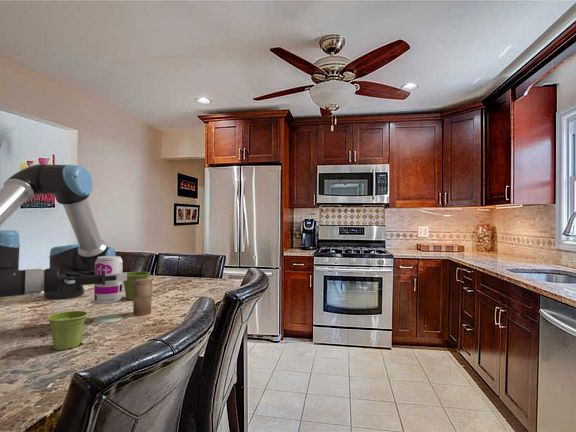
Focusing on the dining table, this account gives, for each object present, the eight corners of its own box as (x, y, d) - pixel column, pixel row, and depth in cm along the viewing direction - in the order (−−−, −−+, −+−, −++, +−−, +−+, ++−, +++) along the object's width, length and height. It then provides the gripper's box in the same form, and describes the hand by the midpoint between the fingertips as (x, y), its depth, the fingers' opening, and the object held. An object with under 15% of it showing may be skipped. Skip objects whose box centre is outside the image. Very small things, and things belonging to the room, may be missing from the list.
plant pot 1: (59, 340, 95) (60, 310, 95) (93, 339, 95) (94, 310, 96) (38, 353, 85) (38, 320, 85) (75, 352, 86) (76, 319, 86)
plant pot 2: (142, 302, 139) (143, 275, 140) (115, 301, 140) (115, 275, 140) (154, 295, 151) (154, 271, 151) (129, 295, 152) (129, 271, 152)
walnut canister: (131, 312, 119) (132, 279, 119) (148, 310, 122) (149, 278, 123) (135, 316, 114) (136, 282, 114) (153, 314, 118) (153, 280, 118)
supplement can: (109, 304, 107) (111, 258, 107) (88, 302, 108) (89, 257, 109) (126, 298, 114) (127, 256, 115) (106, 297, 116) (107, 255, 116)
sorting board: (89, 318, 115) (89, 315, 115) (149, 310, 127) (149, 306, 127) (96, 331, 102) (96, 327, 102) (161, 320, 115) (161, 316, 115)
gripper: (42, 287, 109) (117, 281, 123) (43, 299, 92) (130, 290, 106) (43, 265, 109) (118, 261, 123) (44, 273, 92) (131, 267, 106)
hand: (123, 274), depth 114 cm, fingers closed on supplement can, 8 cm apart
